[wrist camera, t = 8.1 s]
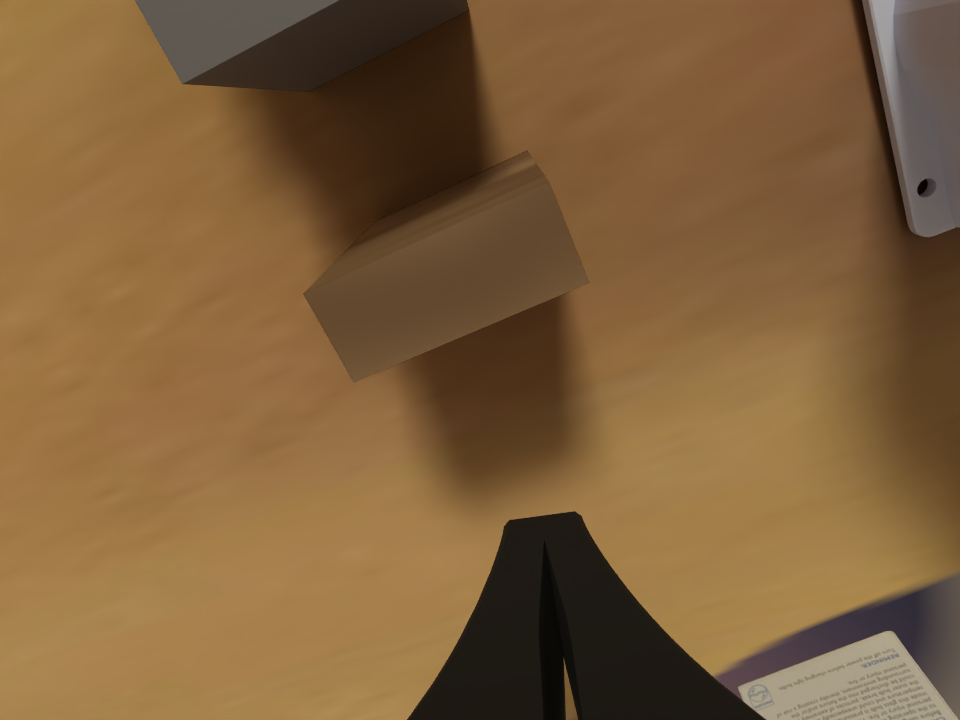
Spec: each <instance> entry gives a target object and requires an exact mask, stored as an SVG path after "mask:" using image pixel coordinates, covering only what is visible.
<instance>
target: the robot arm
mask: <svg viewBox="0 0 960 720" xmlns="http://www.w3.org/2000/svg"><path fill="white" fill-rule="evenodd" d="M862 3H863V8H864V13H865V17H866V22H867V27H868V32H869V37H870V42H871V47H872V52H873V57H874V61H875V66H876V71H877V76H878V81H879V86H880V91H881V96H882V101H883V105H884V110H885V115H886V120H887V125H888V130H889V135H890V140H891V145H892V149H893V154H894V159H895V164H896V169H897V174H898V179H899V184H900V189H901V193H902V198H903V203H904V208H905V213H906V218H907V223H908V226H909V228H910V231H912V232H913V233H914V234H916V235H919V236H924V237H932V236H936V235H938V234H941V233H943V232H946V231H948V230H951V229H953V228H956V227H958V228H960V0H862ZM924 179H926V180H927V182H928V185H927V188H926V190H925V192H923V193H922V194H920V195H918V193H917V187H918V185H919V184H920V182H921V181H923V180H924ZM563 656H564V658H563ZM564 660H565V665H566V669H567V673H568V678H569V682H570V686H571V690H572V695H573V699H574V703H575V708H576V712H577V716H578V720H766V719H765V718H764V717H762V716H761V715H760V714H759V713H757V712H756V711H755V710H753V709H752V708H751V707H750V706H748V705H747V704H746V703H745V702H743V701H742V700H741V699H740V698H738V697H737V696H736V695H735V694H733V693H732V692H731V691H730V690H728V689H727V688H725V686H723V685H722V684H721V683H719V682H718V681H717V680H716V679H715V678H714V677H712V676H711V675H710V674H709V673H708V672H707V671H706V670H705V669H704V668H703V667H701V666H700V665H699V664H698V663H697V662H696V661H695V660H694V659H693V658H691V657H690V656H689V655H688V654H687V653H686V652H685V651H684V650H683V649H682V648H681V647H680V646H679V645H678V644H677V643H676V642H675V641H674V640H673V639H672V638H671V637H670V636H669V635H668V634H667V633H666V632H665V631H664V630H663V629H662V628H661V627H660V626H659V624H658V623H657V622H656V621H655V620H654V619H653V618H652V617H651V616H650V615H649V613H648V612H647V611H646V610H645V609H644V608H643V607H642V605H641V604H640V603H639V602H638V601H637V600H636V598H635V597H634V596H633V595H632V593H631V592H630V591H629V590H628V589H627V587H626V586H625V585H624V583H623V582H622V581H621V579H620V578H619V577H618V575H617V574H616V573H615V571H614V570H613V569H612V567H611V566H610V565H609V563H608V562H607V560H606V559H605V557H604V556H603V554H602V553H601V551H600V550H599V548H598V547H597V545H596V544H595V542H594V540H593V539H592V537H591V535H590V533H589V531H588V530H587V528H586V526H585V523H584V521H583V519H582V516H581V515H579V514H578V513H576V512H575V511H574V512H567V513H559V514H552V515H545V516H537V517H530V518H522V519H515V520H509V521H508V522H507V524H506V525H505V526H504V530H503V535H502V539H501V542H500V546H499V549H498V552H497V555H496V558H495V561H494V564H493V566H492V569H491V572H490V574H489V577H488V579H487V581H486V584H485V586H484V589H483V591H482V593H481V596H480V598H479V600H478V603H477V605H476V607H475V609H474V611H473V613H472V615H471V617H470V619H469V621H468V623H467V625H466V627H465V629H464V631H463V633H462V635H461V637H460V639H459V640H458V642H457V644H456V646H455V648H454V649H453V651H452V653H451V655H450V656H449V658H448V660H447V661H446V663H445V665H444V666H443V668H442V669H441V671H440V673H439V674H438V676H437V677H436V679H435V681H434V682H433V684H432V685H431V687H430V688H429V689H428V691H427V692H426V694H425V695H424V697H423V698H422V699H421V701H420V702H419V704H418V705H417V707H416V708H415V709H414V711H413V712H412V714H411V715H410V716H409V718H408V719H407V720H566V712H565V685H564Z"/></svg>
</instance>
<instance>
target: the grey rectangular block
mask: <svg viewBox="0 0 960 720" xmlns="http://www.w3.org/2000/svg"><path fill="white" fill-rule="evenodd" d="M135 1H136V3H137V5H138V7H139V8H140V10H141V12H142V14H143V15H144V17H145V19H146V21H147V22H148V24H149V26H150V28H151V30H152V31H153V33H154V35H155V37H156V38H157V40H158V42H159V44H160V45H161V47H162V49H163V51H164V53H165V54H166V56H167V58H168V60H169V61H170V63H171V65H172V67H173V68H174V70H175V72H176V74H177V75H178V77H179V79H180V81H181V83H182V84H191V85H207V86H223V87H240V88H256V89H272V90H289V91H305V92H309V91H311V90H313V89H315V88H317V87H319V86H321V85H323V84H325V83H327V82H329V81H331V80H333V79H335V78H337V77H339V76H341V75H343V74H345V73H347V72H349V71H350V70H352V69H354V68H356V67H358V66H360V65H362V64H364V63H366V62H368V61H370V60H372V59H374V58H376V57H378V56H380V55H382V54H384V53H386V52H388V51H390V50H392V49H394V48H395V47H397V46H399V45H401V44H403V43H405V42H407V41H409V40H411V39H413V38H415V37H417V36H419V35H421V34H423V33H425V32H427V31H429V30H431V29H433V28H435V27H437V26H439V25H440V24H442V23H444V22H446V21H448V20H450V19H452V18H454V17H456V16H458V15H460V14H462V13H464V12H466V11H468V10H469V7H468V3H467V0H135Z"/></svg>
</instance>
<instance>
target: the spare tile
mask: <svg viewBox="0 0 960 720" xmlns="http://www.w3.org/2000/svg"><path fill="white" fill-rule="evenodd" d="M588 283H590V282H589V280H588V277H587V275H586V273H585V270H584V268H583V265H582V263H581V260H580V258H579V255H578V253H577V250H576V248H575V245H574V243H573V240H572V238H571V235H570V233H569V230H568V228H567V225H566V223H565V220H564V218H563V215H562V213H561V210H560V208H559V205H558V203H557V200H556V198H555V195H554V193H553V190H552V188H551V185H550V183H549V181H548V180H547V178H546V177H545V175H544V174H543V172H542V171H541V170H540V168H539V167H538V165H537V164H536V162H535V161H534V160H533V158H532V157H531V155H530V154H529V153H528V151H525V152H523V153H520V154H518V155H516V156H514V157H512V158H510V159H508V160H505V161H503V162H501V163H499V164H497V165H495V166H493V167H491V168H488V169H486V170H484V171H482V172H480V173H478V174H476V175H473V176H471V177H469V178H467V179H465V180H463V181H461V182H459V183H456V184H454V185H452V186H450V187H448V188H446V189H444V190H441V191H439V192H437V193H435V194H433V195H431V196H429V197H426V198H424V199H422V200H420V201H418V202H416V203H414V204H412V205H409V206H407V207H405V208H403V209H401V210H399V211H397V212H394V213H392V214H390V215H388V216H386V217H384V218H382V219H380V220H377V221H375V222H374V223H373V224H372V225H371V226H370V227H369V228H368V229H367V230H366V231H365V232H364V233H363V234H362V235H361V236H360V237H359V238H358V239H357V240H356V241H355V242H354V243H353V244H352V245H351V246H350V247H349V248H348V249H347V250H346V251H345V252H344V253H343V254H342V255H341V256H340V257H339V258H338V259H337V260H336V261H335V262H334V263H333V264H332V266H331V267H330V268H329V269H328V270H327V271H326V272H325V273H324V274H323V275H322V276H321V277H320V278H319V279H318V280H317V281H316V282H315V283H314V284H313V285H312V286H311V287H310V288H309V289H308V290H307V291H306V292H305V293H304V296H305V298H306V300H307V301H308V303H309V305H310V307H311V308H312V310H313V312H314V314H315V315H316V317H317V319H318V321H319V322H320V324H321V326H322V328H323V329H324V331H325V333H326V335H327V336H328V338H329V340H330V342H331V343H332V345H333V347H334V349H335V351H336V352H337V354H338V356H339V358H340V359H341V361H342V363H343V365H344V366H345V368H346V370H347V372H348V373H349V375H350V377H351V379H352V380H353V382H356V381H359V380H361V379H363V378H366V377H368V376H370V375H373V374H375V373H378V372H380V371H382V370H385V369H387V368H389V367H392V366H394V365H396V364H399V363H401V362H404V361H406V360H408V359H411V358H413V357H415V356H418V355H420V354H422V353H425V352H427V351H430V350H432V349H434V348H437V347H439V346H441V345H444V344H446V343H448V342H451V341H453V340H456V339H458V338H460V337H463V336H465V335H467V334H470V333H472V332H474V331H477V330H479V329H482V328H484V327H486V326H489V325H491V324H493V323H496V322H498V321H500V320H503V319H505V318H508V317H510V316H512V315H515V314H517V313H519V312H522V311H524V310H527V309H529V308H531V307H534V306H536V305H538V304H541V303H543V302H545V301H548V300H550V299H553V298H555V297H557V296H560V295H562V294H564V293H567V292H569V291H571V290H574V289H576V288H579V287H581V286H583V285H586V284H588Z"/></svg>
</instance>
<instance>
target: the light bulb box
mask: <svg viewBox="0 0 960 720" xmlns="http://www.w3.org/2000/svg"><path fill="white" fill-rule="evenodd" d="M737 689H738V691H739V693H740V696H741V698H742V700H743V702H745V703H746V704H747V705H748V706H750V707H751V708H752V709H753V710H755V711H756V712H757V713H759V714H760V715H761V716H762V717H764V718H765V719H766V720H958V718H957V717H956V716H955V714H954V713H953V712H952V710H951V709H950V708H949V706H948V705H947V704H946V702H945V701H944V700H943V698H942V697H941V696H940V694H939V693H938V691H937V690H936V689H935V687H934V686H933V685H932V683H931V682H930V681H929V680H928V678H927V677H926V675H925V674H924V673H923V672H922V670H921V669H920V668H919V666H918V665H917V664H916V663H915V661H914V660H913V658H912V657H911V656H910V654H909V653H908V651H907V650H906V649H905V647H904V646H903V645H902V643H901V642H900V640H899V639H898V637H897V636H896V635H895V634H894V632H892V631H885V632H882V633H880V634H877V635H874V636H872V637H869V638H866V639H864V640H861V641H858V642H855V643H853V644H850V645H847V646H844V647H842V648H839V649H837V650H834V651H831V652H828V653H826V654H823V655H820V656H818V657H815V658H812V659H810V660H807V661H805V662H802V663H799V664H796V665H794V666H791V667H788V668H786V669H783V670H780V671H778V672H775V673H772V674H770V675H767V676H765V677H762V678H759V679H756V680H754V681H751V682H748V683H746V684H743V685H740V686H738V688H737Z"/></svg>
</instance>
